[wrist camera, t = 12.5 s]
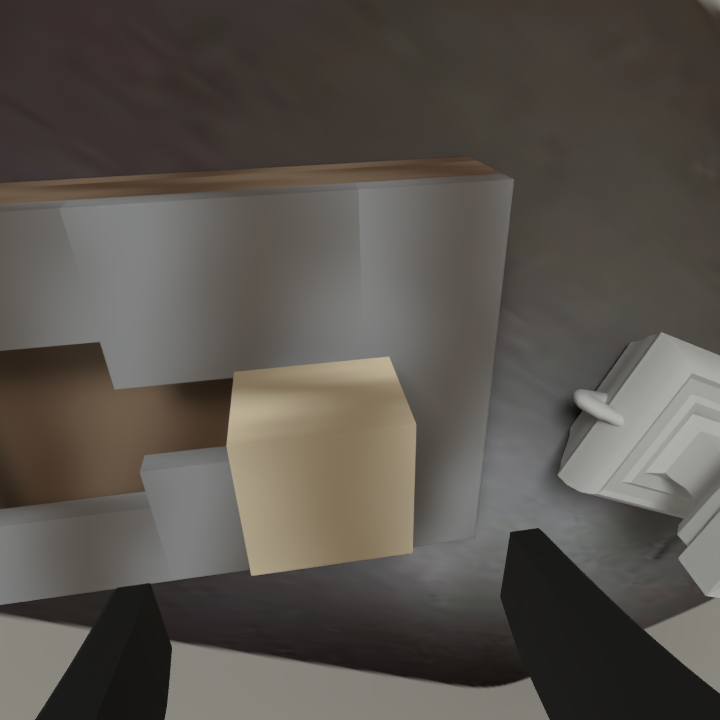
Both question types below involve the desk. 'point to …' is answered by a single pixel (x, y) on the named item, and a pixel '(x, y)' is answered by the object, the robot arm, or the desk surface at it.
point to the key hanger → (322, 464)
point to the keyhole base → (226, 348)
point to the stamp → (656, 443)
